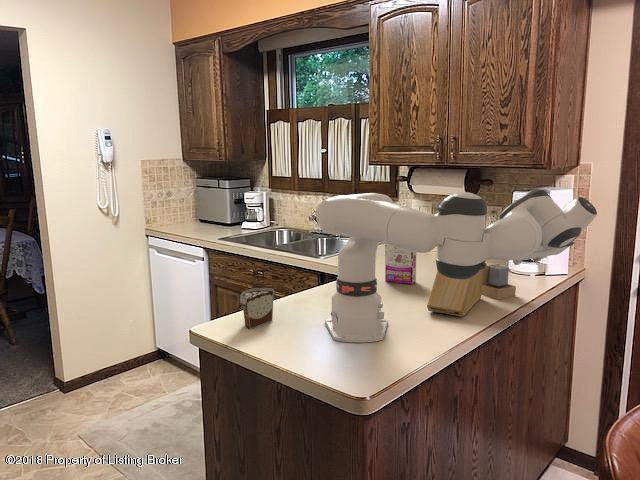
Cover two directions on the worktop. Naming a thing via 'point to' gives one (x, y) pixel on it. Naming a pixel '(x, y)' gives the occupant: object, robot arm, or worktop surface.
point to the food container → (257, 306)
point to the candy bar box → (399, 265)
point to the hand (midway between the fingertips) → (525, 261)
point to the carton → (495, 292)
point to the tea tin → (498, 277)
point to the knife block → (455, 294)
